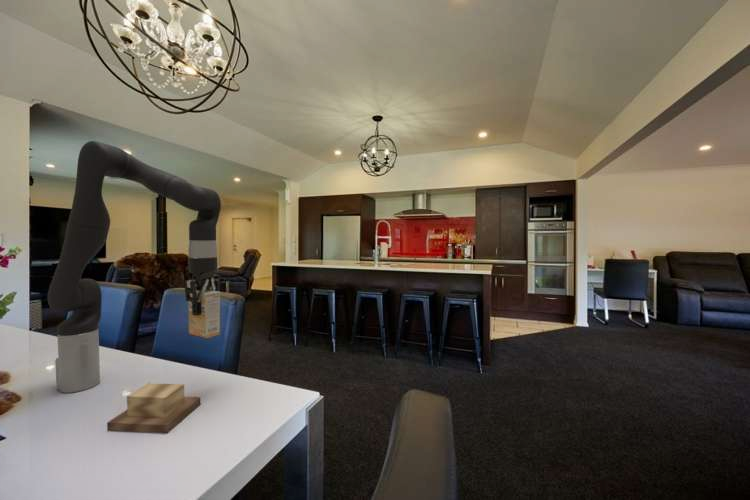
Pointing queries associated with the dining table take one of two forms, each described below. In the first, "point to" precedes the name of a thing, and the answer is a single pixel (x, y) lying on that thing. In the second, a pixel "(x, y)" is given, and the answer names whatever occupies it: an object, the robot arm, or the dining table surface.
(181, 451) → the dining table surface
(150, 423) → the board
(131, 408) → the oak block
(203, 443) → the dining table surface
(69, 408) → the dining table surface
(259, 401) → the dining table surface
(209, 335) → the supplement box
